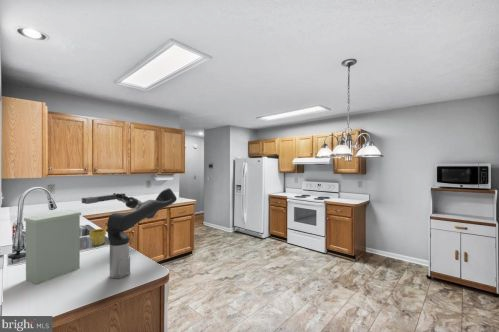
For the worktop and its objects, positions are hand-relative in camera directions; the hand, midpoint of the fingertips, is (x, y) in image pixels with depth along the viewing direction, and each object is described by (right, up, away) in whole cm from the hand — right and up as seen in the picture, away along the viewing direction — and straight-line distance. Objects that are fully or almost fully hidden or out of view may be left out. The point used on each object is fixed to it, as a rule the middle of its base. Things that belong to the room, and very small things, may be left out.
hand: (115, 194), depth 159 cm
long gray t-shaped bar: (-3, -3, -6) cm, 7 cm away
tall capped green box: (-15, -39, -31) cm, 52 cm away
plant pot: (-22, -39, +16) cm, 47 cm away
